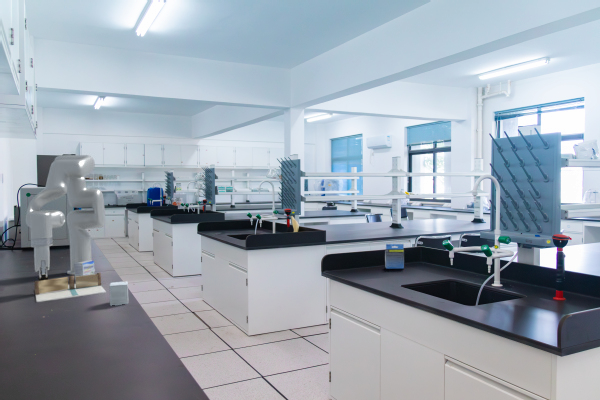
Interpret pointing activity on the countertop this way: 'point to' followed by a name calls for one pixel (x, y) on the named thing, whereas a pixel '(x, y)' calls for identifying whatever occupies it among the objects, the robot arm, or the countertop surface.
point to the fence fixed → (85, 281)
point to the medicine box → (84, 268)
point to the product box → (118, 293)
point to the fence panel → (51, 285)
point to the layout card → (69, 293)
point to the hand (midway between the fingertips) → (43, 287)
